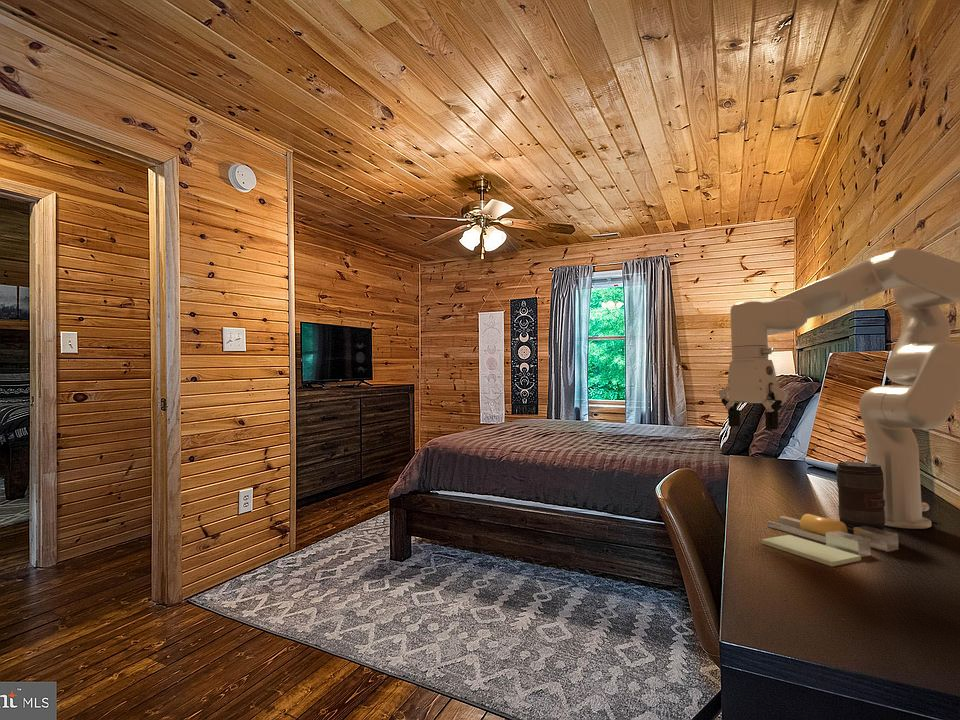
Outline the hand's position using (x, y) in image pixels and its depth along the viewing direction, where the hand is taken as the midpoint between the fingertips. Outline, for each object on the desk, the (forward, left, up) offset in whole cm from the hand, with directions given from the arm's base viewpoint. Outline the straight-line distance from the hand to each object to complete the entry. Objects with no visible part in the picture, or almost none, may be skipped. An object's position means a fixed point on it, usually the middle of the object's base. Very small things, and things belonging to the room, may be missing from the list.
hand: (752, 427), depth 117 cm
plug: (-4, +10, -22) cm, 25 cm away
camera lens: (-14, +15, -22) cm, 30 cm away
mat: (+7, +18, -22) cm, 29 cm away
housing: (-4, +13, -22) cm, 26 cm away
